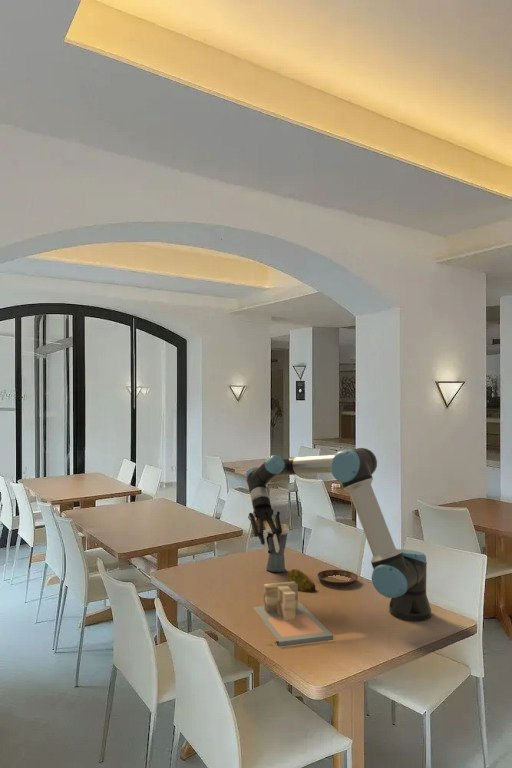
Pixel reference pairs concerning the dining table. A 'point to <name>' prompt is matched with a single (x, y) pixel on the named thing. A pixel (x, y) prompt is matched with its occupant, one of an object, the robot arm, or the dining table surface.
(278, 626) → the board
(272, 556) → the moka pot
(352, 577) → the plant saucer
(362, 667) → the dining table surface
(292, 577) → the potato
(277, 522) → the robot arm
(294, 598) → the t block
